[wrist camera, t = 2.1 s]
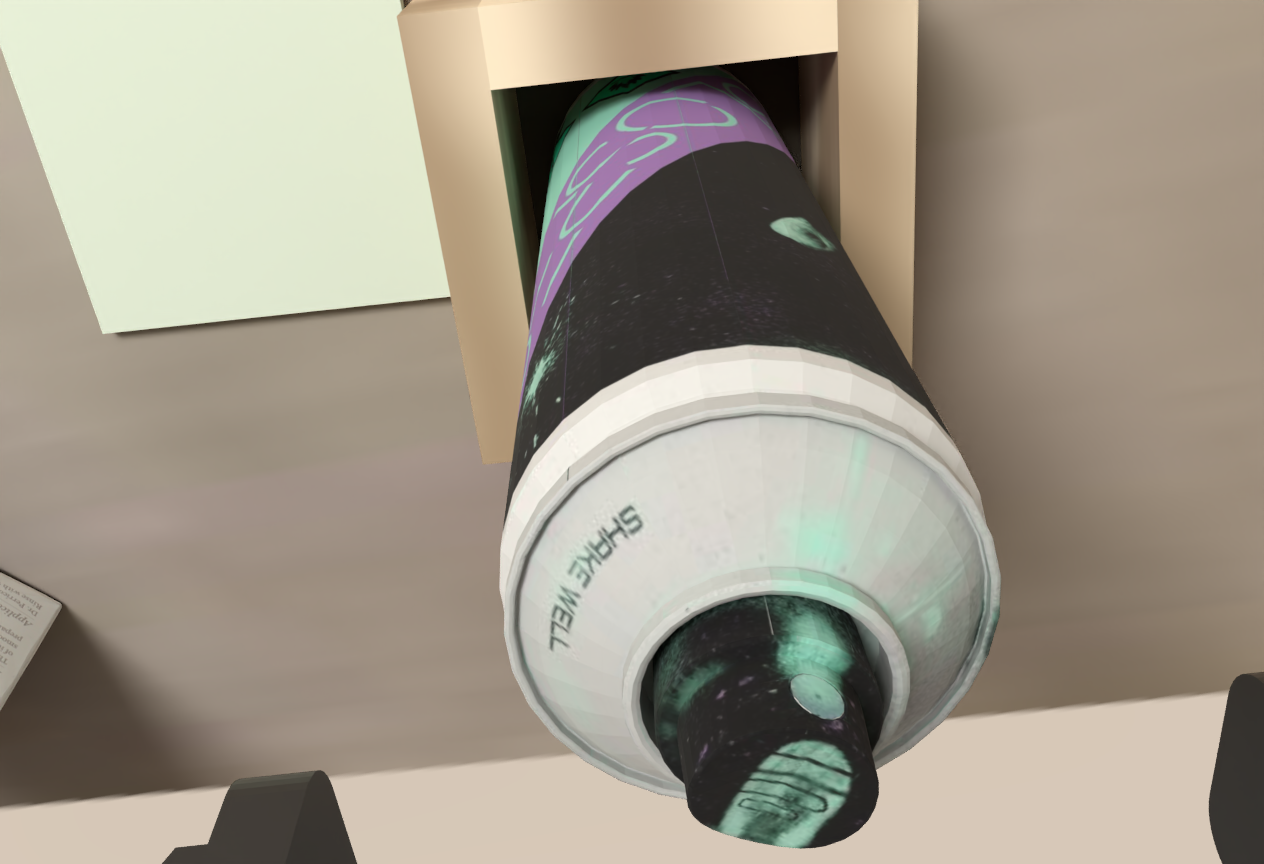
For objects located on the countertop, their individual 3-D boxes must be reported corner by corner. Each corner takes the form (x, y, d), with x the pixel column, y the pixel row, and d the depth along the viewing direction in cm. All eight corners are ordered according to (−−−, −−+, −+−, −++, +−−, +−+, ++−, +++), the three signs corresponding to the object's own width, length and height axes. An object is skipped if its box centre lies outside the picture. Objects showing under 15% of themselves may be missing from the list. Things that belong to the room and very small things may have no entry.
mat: (384, -99, 24) (381, -98, 24) (457, 290, 29) (456, 295, 28) (-25, -52, 25) (-34, -50, 24) (108, 327, 29) (103, 333, 29)
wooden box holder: (862, -69, 25) (919, -44, 21) (864, 330, 30) (910, 420, 25) (431, -20, 25) (396, 16, 21) (499, 368, 30) (483, 464, 25)
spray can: (761, 29, 26) (1104, 480, 8) (791, 253, 29) (1102, 953, 11) (527, 78, 26) (389, 607, 9) (579, 295, 29) (551, 1036, 11)
